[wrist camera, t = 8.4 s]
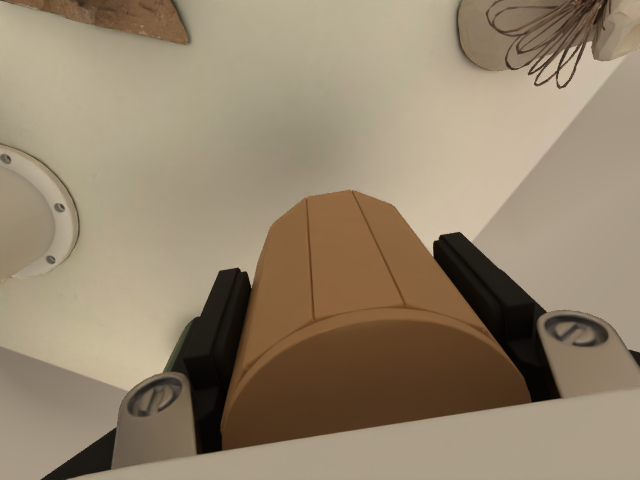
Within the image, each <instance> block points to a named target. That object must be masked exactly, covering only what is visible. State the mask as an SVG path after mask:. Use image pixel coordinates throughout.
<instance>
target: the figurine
mask: <svg viewBox="0 0 640 480" xmlns="http://www.w3.org/2000/svg"><path fill="white" fill-rule="evenodd" d="M458 26H459V34H460V41H461V46H462V48H463V50H464V52H465V54H466V55H467V56H468V57H469V59H470V60H471V61H473V62H474V63H475V64H477V65H478V66H480V67H482V68H484V69H487V70H491V71H503V70H508V69H511V70H517V69H519V68H516V67H519V66H521V65H523V64H525V63H526V64H525V65H523V66H522V67H524V66H527V65H529V64H530V63H531V62H532V61H533V60H535V59H537V58H540V57H541V58H540V59H539V60H538V61H537V62H536V63H535V64H534V66H533V67H532V68H531V69H530V71H529V73H528V75H531V74H533V73H535V72H537V71H538V70H540V69H541V68H542V67H544V68H543V69H542V70H541V71H540V73H539V74H538V75H537V77H536V80H535V83H534V85H535V86H540V85H542V84H544V83H546V82H548V81H549V80H550V79H551V78H552V77H553V76H554V75H555V74H557V75H556V81H557V79H558V73H559V71H560V69H561V68H562V67H563V66H564V65H565V64H566V63H567V62H568V61H569V60H570V59H571V58H572V57H573V56H574V55H575V53H576V52H577V51H578V49H579V48H580V46H581V45H582V44H583V45H582V48H581V50H580V53H579V55H578V58H577V61H576V63H575V66H574V69H573V72H572V74H571V76H570V78H569V80H568V81H567V82H566V83H565V84H564V85H563V86H562V87H561V86H560V85H559V84H558V81H557V87H558V88H559V89H561V88H564V87H566V85H567V84H568V83H569V82H570V80H571V79H572V77H573V75H574V73H575V71H576V66H577V64H578V62H579V60H580V58H581V56H582V53H583V51H584V48H585V45H586V42H590V41H592V46H591V48H592V54H593V57H594V59H596V60H599V61H609V60H613V59H616V58H618V57H621V56H624V55H626V54H628V53H631V52H633V51H635V50H638V49H640V0H463V1H462V3H461V5H460V9H459V14H458ZM577 45H578V46H577ZM574 46H577V48H576V50H575V51H574V52H573V54H572V55H571V57H570V58H569V59H568V60H567V61H566V62H565V63H564V64H563V65H562V66H561V64H562V62H563V60H564V58H565V56H566V54H567V52H568V50H569V48H570V47H574ZM564 49H565V51H564V53H563V55H562V58H561V60H560V62H559V65H558V69H557V71H556V72H555V73H554V74H553V75H551V76H550V77H549V78H548V79H547V80H545V81H543V82H542V83H540V84H536V81H537V79H538V77H539V76H540V74H541V73H542V71H543V70H544V69H545V68H546V67H547V66H548V65H549V64H550V63H551V61H552V60H553V59H554V58H555V57H556V56H557V55H558V54H559V53H560V52H561V51H562V50H564ZM552 53H554V54H553V55H552V56H551V57H550V58H549V59H548V60H547V61H546V62H545V63H544V64H543V65H542V66H540V67H539V68H538V69H537V70H535V71H534V72H531V71H532V70H533V69H534V68H535V66H536V65H537V64H538V63H539V62H540V61H541V60H542V58H543V57H544V56H546V55H549V54H552ZM560 66H561V67H560ZM522 67H520V68H522ZM530 72H531V73H530Z"/></svg>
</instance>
